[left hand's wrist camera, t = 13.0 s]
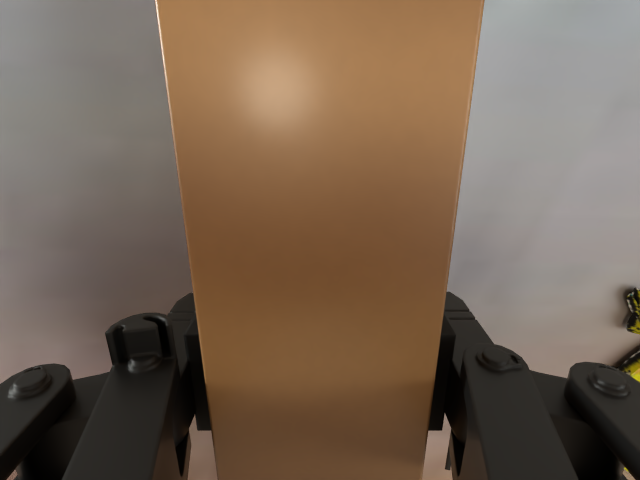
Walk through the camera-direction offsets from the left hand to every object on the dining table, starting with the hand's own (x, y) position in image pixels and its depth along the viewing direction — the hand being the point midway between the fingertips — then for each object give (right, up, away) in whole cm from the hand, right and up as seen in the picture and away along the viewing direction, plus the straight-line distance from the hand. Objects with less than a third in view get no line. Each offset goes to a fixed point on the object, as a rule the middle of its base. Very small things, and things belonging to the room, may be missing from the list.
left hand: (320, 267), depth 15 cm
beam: (0, +28, -9) cm, 29 cm away
